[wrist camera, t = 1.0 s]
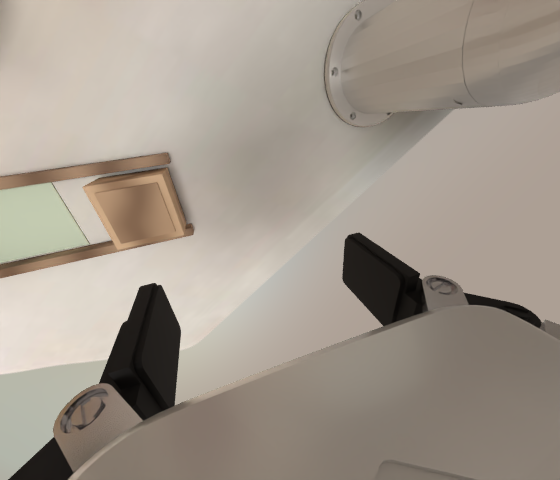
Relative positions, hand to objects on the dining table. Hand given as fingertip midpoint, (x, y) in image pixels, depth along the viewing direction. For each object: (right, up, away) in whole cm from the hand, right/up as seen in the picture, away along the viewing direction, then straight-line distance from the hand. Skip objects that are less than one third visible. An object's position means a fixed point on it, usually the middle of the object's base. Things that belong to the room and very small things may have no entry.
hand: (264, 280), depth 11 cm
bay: (-22, +5, +14) cm, 27 cm away
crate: (-15, +7, +15) cm, 23 cm away
